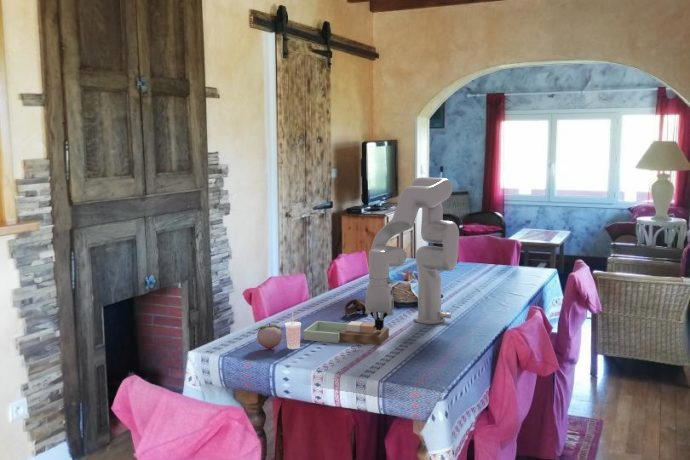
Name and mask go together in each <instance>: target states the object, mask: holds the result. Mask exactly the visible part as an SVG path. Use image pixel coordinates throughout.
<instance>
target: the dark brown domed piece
mask: <svg viewBox="0 0 690 460" xmlns="http://www.w3.org/2000/svg"><path fill="white" fill-rule="evenodd" d="M351 305H352V306H351ZM350 306H351V307H350ZM365 311H366V308H365V302H362V301H361V300H360V299H359V298H354V299H352V300H349V301H348V302H347V303H346V304H345V305H344V313H345V317H346V316H348V315H351V314H354V313H356V314H357V313H358V312H361V313H362V314H366V315H365V316H366V317H368V316H369V314H367V313H365Z"/></svg>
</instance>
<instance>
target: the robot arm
mask: <svg viewBox="0 0 690 460" xmlns="http://www.w3.org/2000/svg"><path fill="white" fill-rule="evenodd" d="M453 189H454V188H453V184H452V182H451V180H449V179H448V178H444V177H422V176H421V177H418V178H417V177H416V178H415V179H413V180H412V183H411V185H409V186H406V187H405V188H403V190H402V192H401V193H400V196H399V199H398V201H397V205H396V207H395V210H394V213H393V216H392V218H391V220H389V221H388V222H387V223H386V224H385V225H383V227H381V229H380V230H378V232H377V233H376V235H375V236H374V239H373V241H372V243H371V247H370V250H369V252H368V284H367V287H366V291H365V292H366V293H365V302H364V304H365V308H366V311H365V313H364V314H366V313H367V314H368V315H370V316H371V317H372V318H373V320H374V323H375V327H376V330H381V329H382V328H383V327H384V326H385V325H384V320H385V318H386V317H390V316H393V315H394V310H393V309H394V307H395V306H394V305H395V303H394V294H393V288H392V285H391V284H393V279H390V268H392V267H393V268H395V267H401V266H403V264H405V262H406V260H407V252H406V251H405V250H404V248H402V247H398V246H392V245H387V244H388V242H389V241H390V240H391V239H392V238H393V237H394V236H396V235H399V234H402V233H403V232H405V231H408V230H410V229H412V227H414V225H415V221H416V218H417V215H418V212H419V209H421V224H420V225H421V226H420V236H421V239H422V241H424V242H426V243H433V244H442V246H435V245H422V246H420V247H419V248H417V250H416V252H415V263H416V268H417V310H418V311H417V315H416V316H414V319H413V320H414V321H415V322H416V323H419V324H424V325H436V324H437V325H438V324H441V323H444V322H445V321H446V319H452V313H450V312H444V308H442V278H441V275H440V272H439V271H444V272H452V271H454V269H455V268H456V267H457V263H458V258H459V245H460V244H459V242H460V230H459V226H458V225H457V224H456V222H454V221H450V220H444V219H443V217H444V216H443V215H444V208H443V204H442V203H443V202H445V201H446V200H448V199H449V198H450V197H451V196H452V194H453V193H452V192H453ZM379 314H380V315H379Z"/></svg>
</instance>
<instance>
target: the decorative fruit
mask: <svg viewBox="0 0 690 460" xmlns="http://www.w3.org/2000/svg"><path fill="white" fill-rule="evenodd" d="M282 329H283V327H281V325H279V324H272V325H271V323H270V322H269V323H268V325H261V326H259V327H258V328H257V329H256V331H257V335H256V340H257V342H258V344H260V346H262V347H263V348H265V349H268V350H272V349H274V348H275V347H276V348H277V347H278V345H280V343H281V341H282V339H283V332H282Z"/></svg>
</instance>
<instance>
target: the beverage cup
mask: <svg viewBox="0 0 690 460" xmlns="http://www.w3.org/2000/svg"><path fill="white" fill-rule="evenodd" d="M291 316H292V318H291V321H287V322H285V323H284V328H285V334H286V336H285V337H286V343H287V344H286V346H287V349H289V350H297V349H300V348H301V327H302V322H300V321H294V310H293V309H292V310H291Z"/></svg>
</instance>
